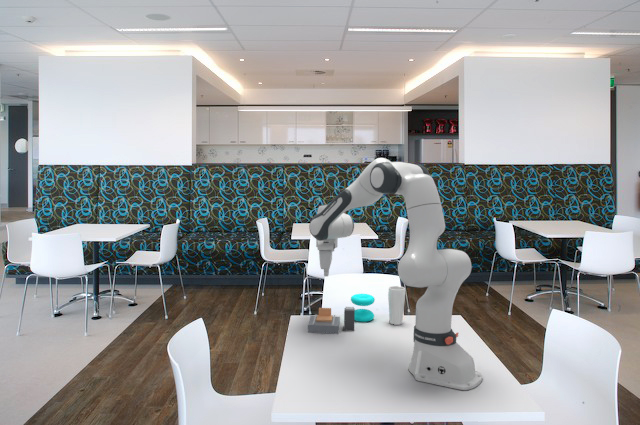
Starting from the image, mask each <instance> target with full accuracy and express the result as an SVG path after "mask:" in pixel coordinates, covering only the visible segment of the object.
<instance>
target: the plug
mask: <svg viewBox="0 0 640 425" xmlns="http://www.w3.org/2000/svg"><path fill="white" fill-rule="evenodd" d="M355 310H356V309H355V307H354V306H345V307H344V312H343V313H344V315H343V318H344V319H343V331H344V330H345V332H346V331H347V332H349V331H351V332H354V331H355V320H354V315H355Z"/></svg>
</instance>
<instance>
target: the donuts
mask: <svg viewBox="0 0 640 425" xmlns="http://www.w3.org/2000/svg"><path fill="white" fill-rule="evenodd" d="M375 300H376V298H375V297H374V296H373V295H371V294H368V293H356V294H352V295H351V297H350V301H351V303H352V304H354V305H355V306H359V307H367V306H368V307H369V306H371V305H373V304H374V303H375ZM374 318H375V314H374V312H373V311H372V310H369V309H366V308H357V309H355V315H354V322H355V321H356V322H362V323H365V322H366V323H367V322H370V321H373V319H374Z"/></svg>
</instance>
